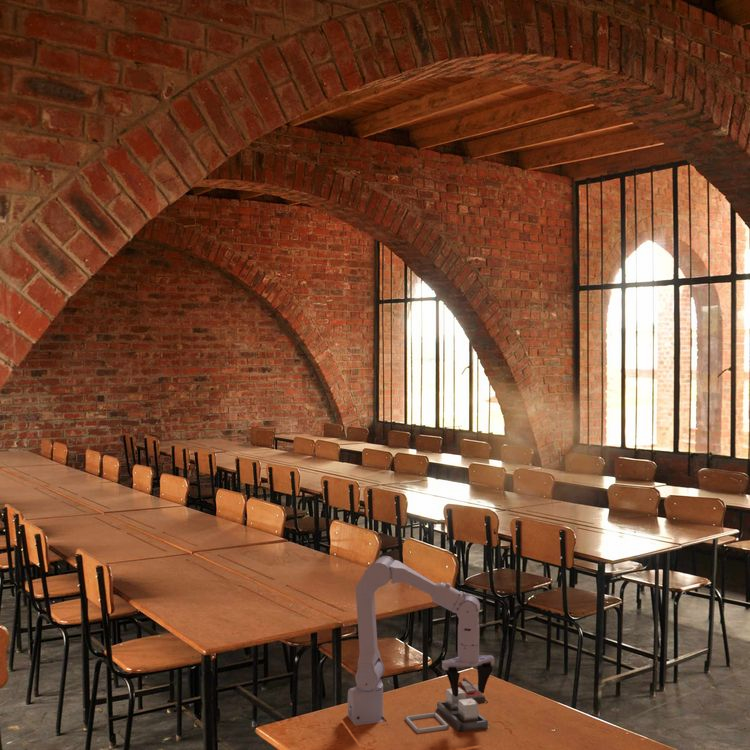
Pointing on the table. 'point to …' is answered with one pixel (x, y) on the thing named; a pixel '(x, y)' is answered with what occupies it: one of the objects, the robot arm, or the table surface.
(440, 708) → the metal divided rack
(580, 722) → the table surface
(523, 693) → the table surface
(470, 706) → the loose billet
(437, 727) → the grey square tray
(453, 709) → the seated billet
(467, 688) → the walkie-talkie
